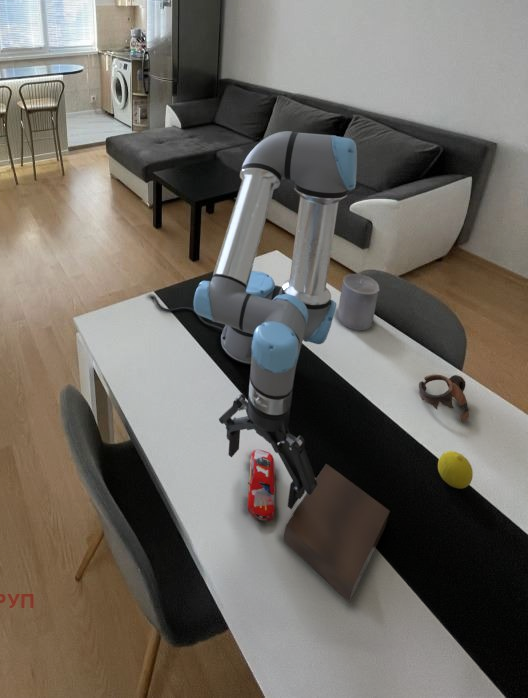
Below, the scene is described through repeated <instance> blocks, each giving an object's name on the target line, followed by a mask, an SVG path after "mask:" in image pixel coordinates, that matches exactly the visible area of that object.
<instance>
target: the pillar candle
mask: <svg viewBox="0 0 528 698" xmlns="http://www.w3.org/2000/svg"><path fill="white" fill-rule="evenodd" d="M379 292H380V285H379V283H378V282H377V281H376V280H375V279H373V278H372V277H370V276H367V275H364V274H361V273H349V274H346V275H345V276H344V277H343V278H342V286H341V290H340V295H339V302H338V307H337V313H336V316H337V319H338V321H339V322H340V323H341V324H342V325H343V326H345V327H346V328H349V329H351V330H355V331H365V330H369V329H370V328H372V325H373V322H374V317H375V312H376V308H377V301H378V298H379Z"/></svg>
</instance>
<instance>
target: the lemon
mask: <svg viewBox="0 0 528 698" xmlns="http://www.w3.org/2000/svg"><path fill="white" fill-rule="evenodd" d="M437 471H438V473H439V476H440V477H441V479H442V480H443V481H444V482H445V483H446V484H447V485H449V486H450V487H452V488H454V489H465V488H467V487H469V486H470V484H471V483H472V481H473V476H474V475H473V474H474V472H473V471H474V470H473V468H472V465H471V463H470V461H469V459H467V458H466V457H465V455H463V454H461V453H459V452H457V451H453V450H449V451H448V450H447V451H445V452H443V453H442V454H441V456H440V457H439V458H438V462H437Z"/></svg>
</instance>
